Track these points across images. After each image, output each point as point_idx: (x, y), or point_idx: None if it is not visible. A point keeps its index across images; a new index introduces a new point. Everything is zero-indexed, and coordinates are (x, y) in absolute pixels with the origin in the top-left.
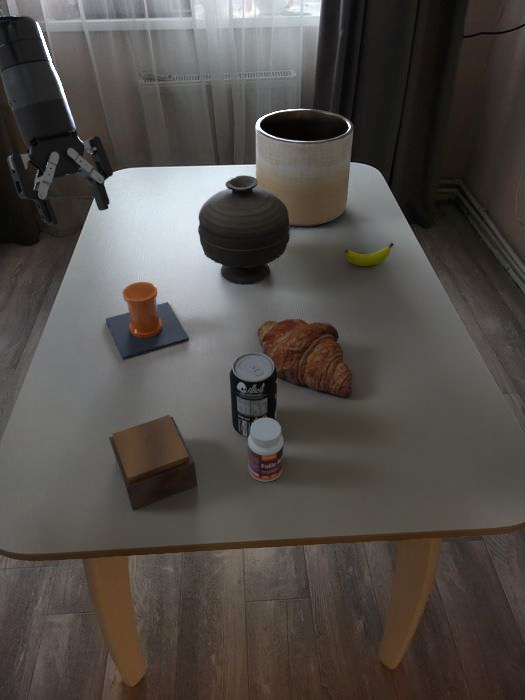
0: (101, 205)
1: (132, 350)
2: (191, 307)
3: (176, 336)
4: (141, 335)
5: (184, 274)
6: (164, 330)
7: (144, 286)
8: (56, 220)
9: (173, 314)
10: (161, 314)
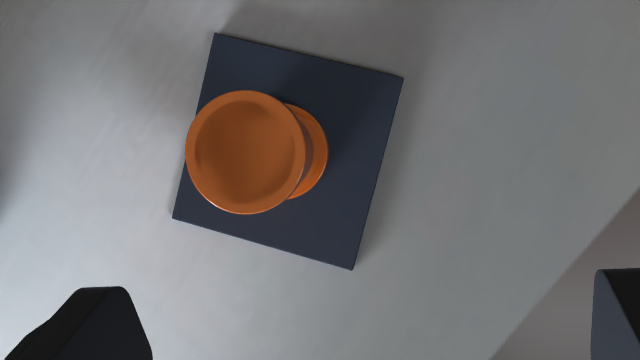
0: (114, 333)
1: (365, 86)
2: (133, 159)
3: (237, 61)
4: (314, 118)
5: None
6: None
7: (216, 168)
8: (613, 281)
9: None
10: None
